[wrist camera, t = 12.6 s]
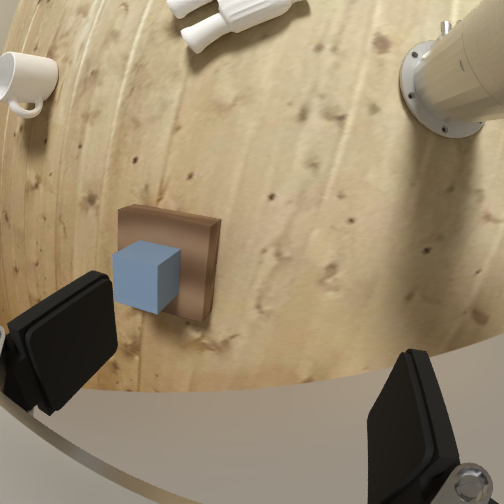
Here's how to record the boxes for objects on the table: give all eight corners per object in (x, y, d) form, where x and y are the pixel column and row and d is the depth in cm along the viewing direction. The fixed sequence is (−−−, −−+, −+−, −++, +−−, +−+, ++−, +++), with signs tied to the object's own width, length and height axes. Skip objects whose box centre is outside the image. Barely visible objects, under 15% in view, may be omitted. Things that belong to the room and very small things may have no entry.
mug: (66, 106, 39) (18, 104, 30) (37, 129, 42) (-8, 132, 32) (57, 50, 36) (14, 41, 27) (30, 74, 39) (-12, 71, 29)
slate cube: (139, 240, 38) (112, 254, 33) (181, 249, 37) (157, 265, 32) (139, 282, 40) (114, 301, 35) (178, 292, 39) (157, 314, 34)
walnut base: (134, 204, 41) (118, 209, 38) (221, 219, 39) (210, 226, 36) (133, 287, 46) (119, 298, 42) (211, 308, 44) (202, 322, 40)
